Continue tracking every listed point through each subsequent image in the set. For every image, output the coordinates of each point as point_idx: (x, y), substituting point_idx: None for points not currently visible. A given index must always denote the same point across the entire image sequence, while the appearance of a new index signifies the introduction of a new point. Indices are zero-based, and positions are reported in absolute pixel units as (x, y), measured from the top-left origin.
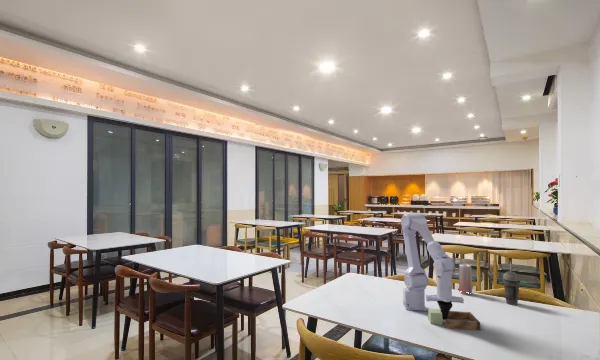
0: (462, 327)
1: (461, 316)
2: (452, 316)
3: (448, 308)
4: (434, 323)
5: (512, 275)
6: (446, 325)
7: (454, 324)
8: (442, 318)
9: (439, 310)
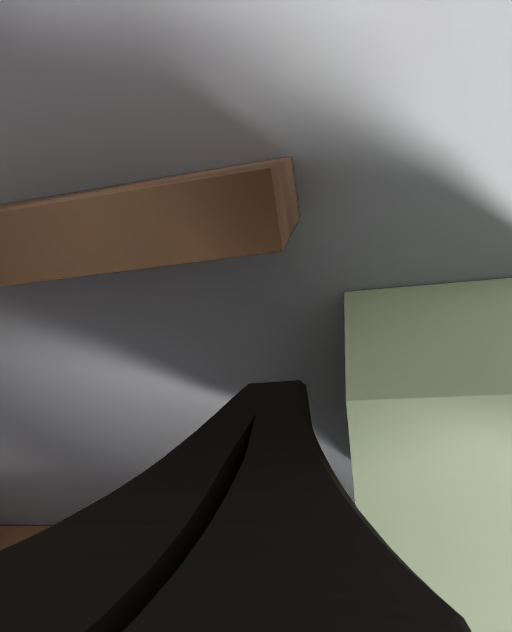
0: (5, 205)
1: None
2: None
3: (90, 540)
4: (501, 281)
5: None
6: (282, 161)
7: (114, 189)
8: None
9: None
